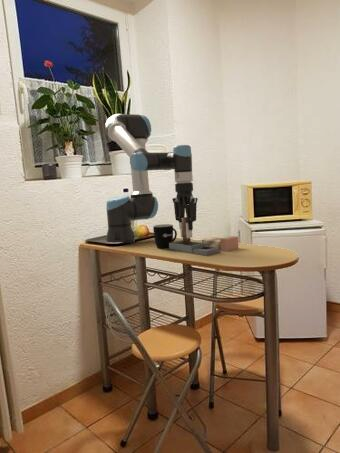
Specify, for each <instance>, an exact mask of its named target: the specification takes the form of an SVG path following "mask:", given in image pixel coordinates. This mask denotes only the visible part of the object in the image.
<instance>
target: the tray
mask: <svg viewBox="0 0 340 453" xmlns="http://www.w3.org/2000/svg"><path fill="white" fill-rule="evenodd" d="M190 242H191V245H190V246H189V245H183V239H182V240H175V241H173V242H171V243H169V248H168V249H169V250H170V251H175V252H180V253H182V252H183V253H186V254H188V253H189V254H193V250H192V249H193V248H198V247H202V246H205V243H202V242H200V241H199V242H198V241H194V240H193V241H192V240H190Z"/></svg>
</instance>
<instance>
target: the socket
mask: <svg viewBox="0 0 340 453" xmlns="http://www.w3.org/2000/svg"><path fill="white" fill-rule="evenodd" d="M192 250H193V253H192V255H193V254H195V255H200V256H206V257H208V256H213V255H216V254H219V253H221V250H220V248H219V247H212V246H202V247H198V248H193V249H192Z"/></svg>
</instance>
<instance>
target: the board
mask: <svg viewBox="0 0 340 453" xmlns="http://www.w3.org/2000/svg"><path fill="white" fill-rule="evenodd" d="M221 238H222V237H215V236H214V237H209V238H204V239H201V243H205V246H212V247H219V248H220V251H221V245H220V239H221Z"/></svg>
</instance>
